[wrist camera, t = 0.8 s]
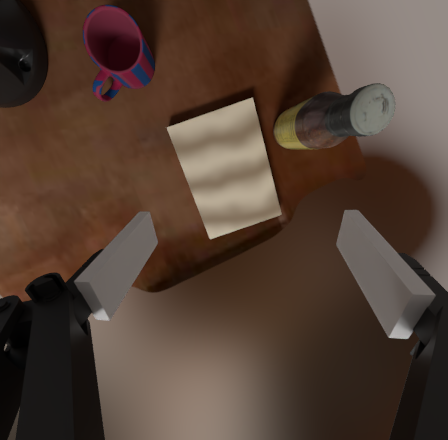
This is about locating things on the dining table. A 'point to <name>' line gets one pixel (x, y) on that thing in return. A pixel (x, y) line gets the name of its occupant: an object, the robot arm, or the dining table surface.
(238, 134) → the birch board
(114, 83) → the mug
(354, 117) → the sauce bottle
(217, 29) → the dining table surface
